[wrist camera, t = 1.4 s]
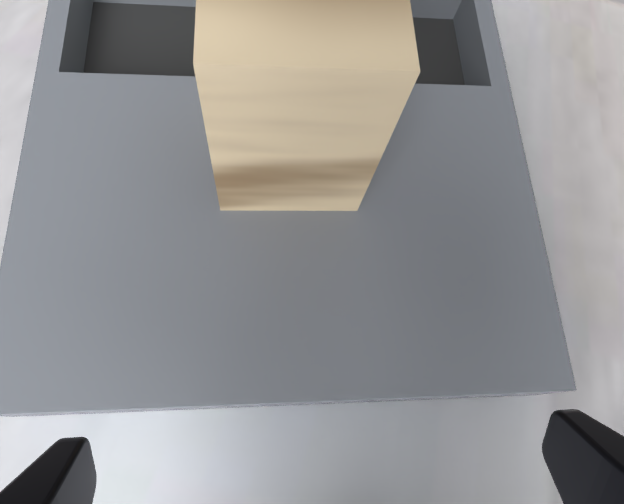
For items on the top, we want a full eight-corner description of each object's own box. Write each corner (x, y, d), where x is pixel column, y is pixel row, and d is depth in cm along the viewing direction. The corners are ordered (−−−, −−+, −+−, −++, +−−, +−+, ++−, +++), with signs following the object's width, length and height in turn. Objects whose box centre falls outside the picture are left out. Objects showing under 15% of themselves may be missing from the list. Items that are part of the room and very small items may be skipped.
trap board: (536, 394, 22) (600, 387, 18) (13, 416, 20) (-53, 414, 16) (463, 12, 30) (496, -55, 26) (79, -7, 28) (46, -85, 23)
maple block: (357, 211, 21) (420, 71, 13) (220, 210, 21) (193, 63, 12) (347, 98, 23) (397, -86, 15) (222, 94, 23) (200, -101, 14)
